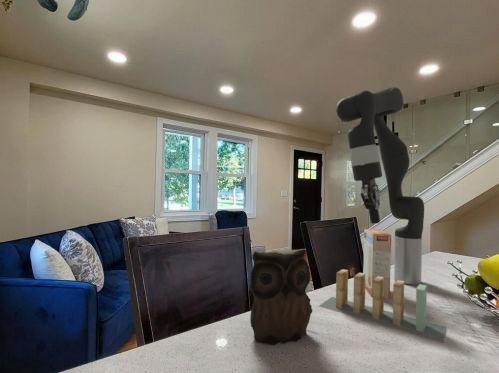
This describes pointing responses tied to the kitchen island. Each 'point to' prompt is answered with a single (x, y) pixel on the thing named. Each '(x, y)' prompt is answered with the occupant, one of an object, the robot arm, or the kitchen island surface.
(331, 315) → the kitchen island surface
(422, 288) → the domino
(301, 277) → the owl
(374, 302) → the domino
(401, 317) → the domino
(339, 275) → the domino
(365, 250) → the cracker box
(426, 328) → the mat
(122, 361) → the kitchen island surface
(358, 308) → the domino
